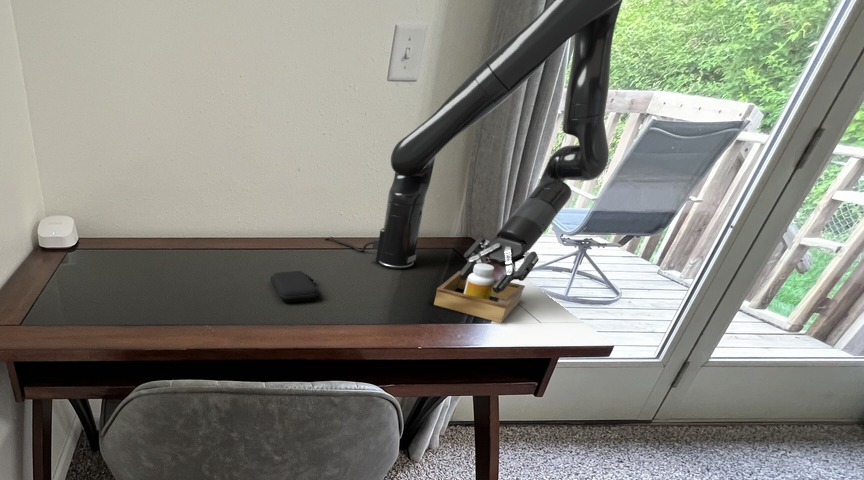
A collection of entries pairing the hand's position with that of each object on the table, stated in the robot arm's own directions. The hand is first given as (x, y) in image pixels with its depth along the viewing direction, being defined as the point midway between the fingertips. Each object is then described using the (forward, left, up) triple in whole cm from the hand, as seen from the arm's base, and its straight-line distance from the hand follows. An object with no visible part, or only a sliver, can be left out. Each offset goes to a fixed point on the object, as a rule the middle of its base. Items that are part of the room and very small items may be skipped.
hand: (478, 284), depth 106 cm
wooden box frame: (0, +3, -6) cm, 6 cm away
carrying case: (-37, -18, -6) cm, 41 cm away
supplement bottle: (0, +1, -6) cm, 6 cm away
